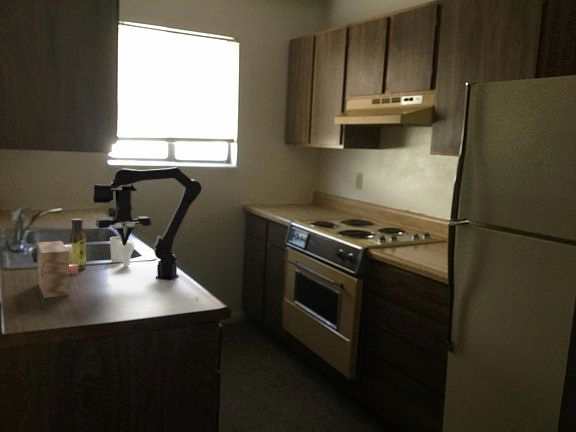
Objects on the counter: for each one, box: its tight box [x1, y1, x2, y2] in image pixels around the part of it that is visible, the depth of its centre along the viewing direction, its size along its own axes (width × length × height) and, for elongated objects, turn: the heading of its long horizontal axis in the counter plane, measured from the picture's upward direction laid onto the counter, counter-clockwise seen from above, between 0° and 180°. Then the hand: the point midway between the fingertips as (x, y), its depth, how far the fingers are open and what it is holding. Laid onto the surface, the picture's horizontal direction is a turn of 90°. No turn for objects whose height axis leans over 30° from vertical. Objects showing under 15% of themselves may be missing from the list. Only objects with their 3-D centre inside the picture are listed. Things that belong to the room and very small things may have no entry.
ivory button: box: [64, 244, 72, 253], centre depth 188 cm, size 7×3×3 cm, turn 120°
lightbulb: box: [118, 239, 135, 267], centre depth 216 cm, size 6×6×11 cm
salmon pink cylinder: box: [69, 264, 79, 275], centre depth 178 cm, size 7×3×3 cm, turn 120°
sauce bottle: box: [68, 218, 87, 271], centre depth 210 cm, size 6×6×20 cm
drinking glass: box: [109, 235, 123, 263], centre depth 225 cm, size 7×7×10 cm
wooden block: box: [36, 240, 71, 299], centre depth 182 cm, size 8×18×15 cm, turn 30°
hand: (124, 245), depth 196 cm, fingers closed
